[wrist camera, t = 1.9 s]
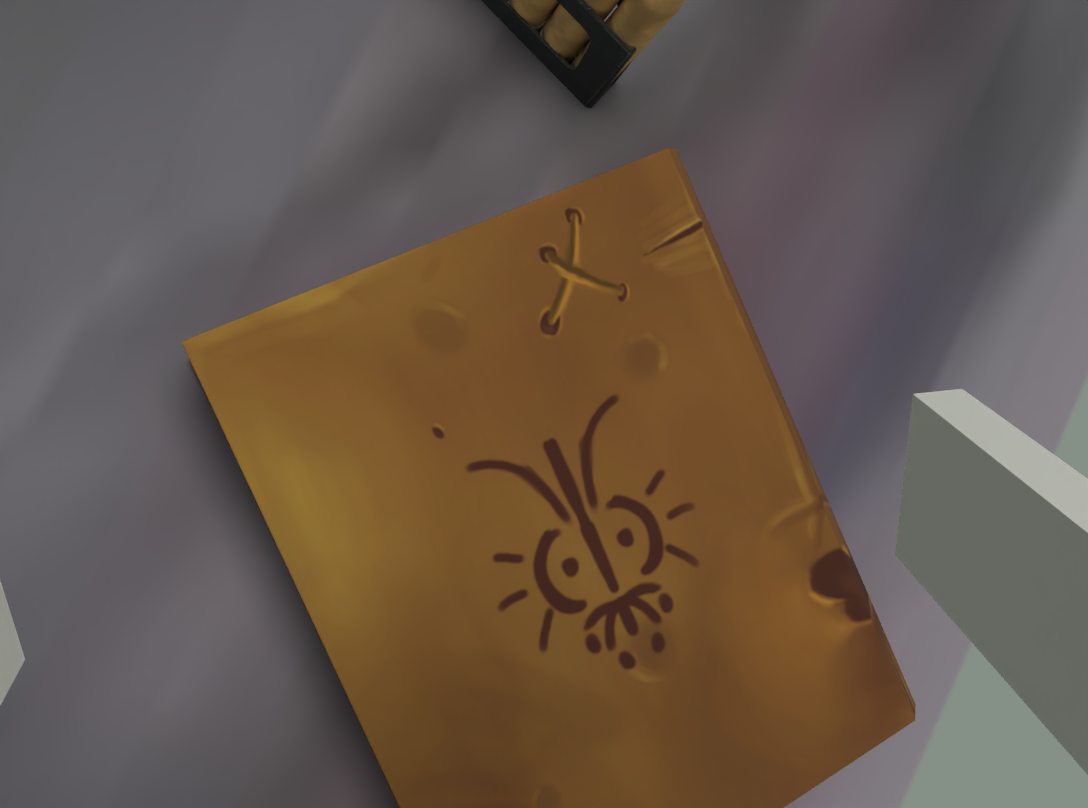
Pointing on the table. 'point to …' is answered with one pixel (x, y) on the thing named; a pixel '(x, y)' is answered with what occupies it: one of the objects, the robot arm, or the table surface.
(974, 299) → the table surface
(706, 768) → the diary
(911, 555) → the robot arm
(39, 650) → the table surface
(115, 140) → the table surface
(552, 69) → the ammunition clip
